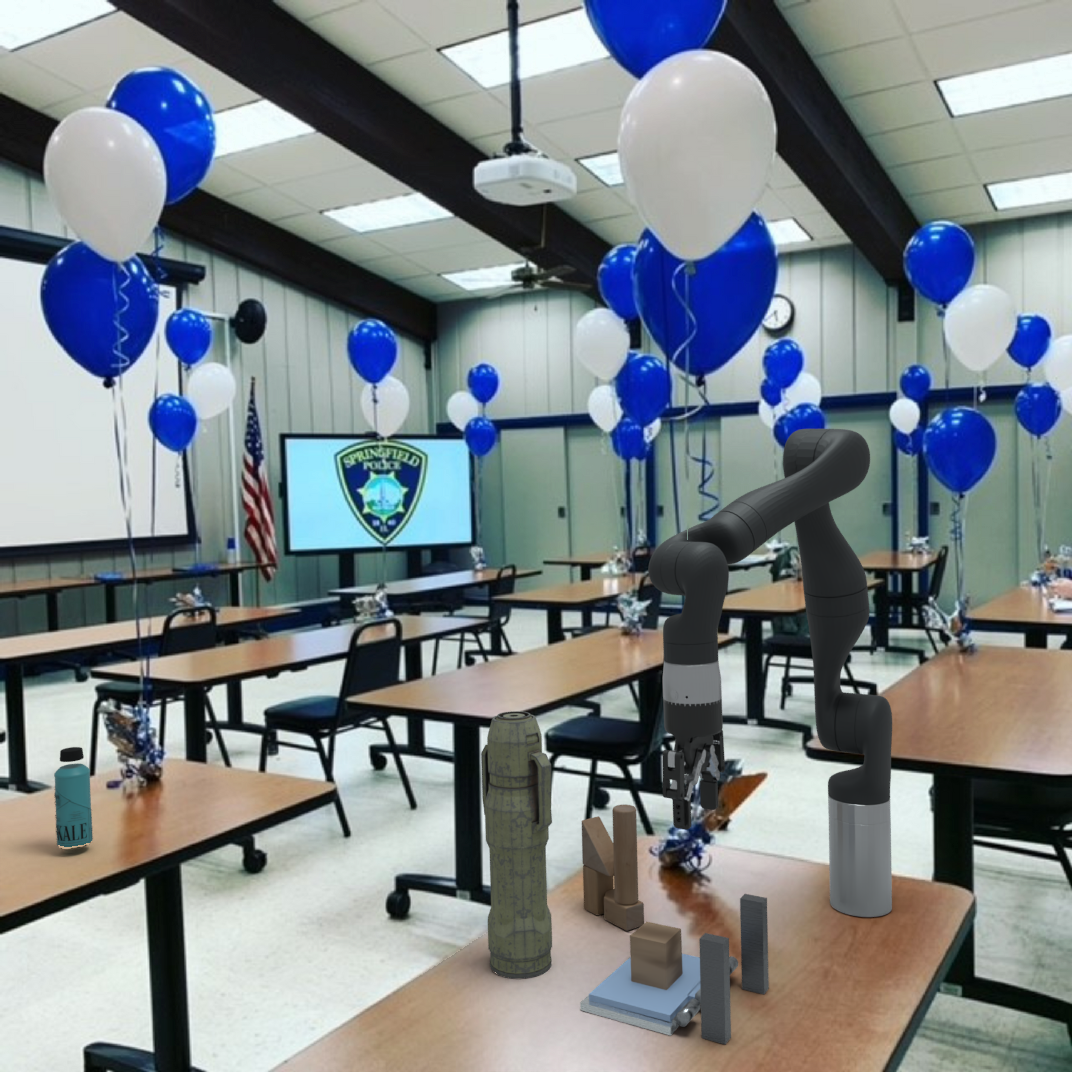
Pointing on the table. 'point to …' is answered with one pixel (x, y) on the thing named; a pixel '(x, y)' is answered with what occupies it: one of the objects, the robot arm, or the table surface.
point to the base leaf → (713, 978)
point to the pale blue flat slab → (650, 991)
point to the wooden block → (612, 869)
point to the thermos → (517, 845)
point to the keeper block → (656, 955)
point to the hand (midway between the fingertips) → (696, 818)
